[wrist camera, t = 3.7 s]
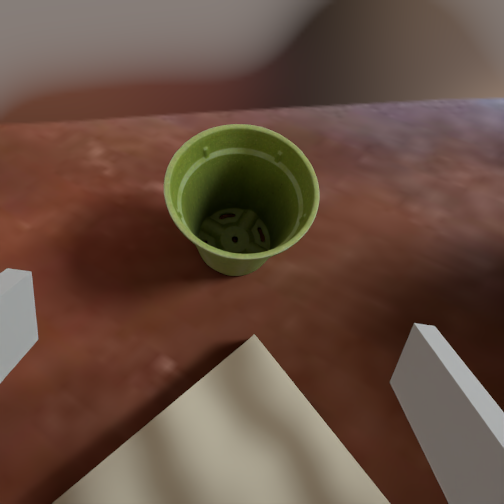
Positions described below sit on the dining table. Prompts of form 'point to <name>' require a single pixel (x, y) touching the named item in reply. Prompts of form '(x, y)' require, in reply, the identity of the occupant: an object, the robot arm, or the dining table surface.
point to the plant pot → (241, 195)
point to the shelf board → (232, 447)
